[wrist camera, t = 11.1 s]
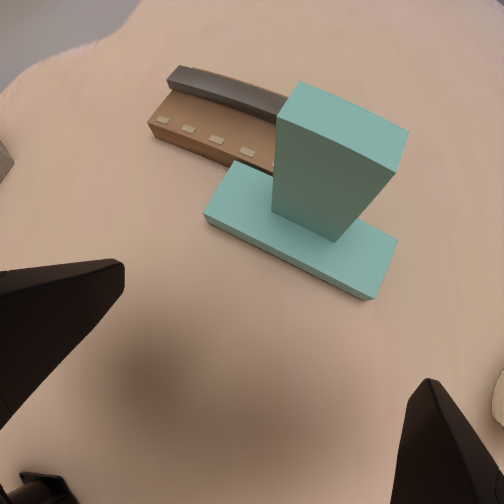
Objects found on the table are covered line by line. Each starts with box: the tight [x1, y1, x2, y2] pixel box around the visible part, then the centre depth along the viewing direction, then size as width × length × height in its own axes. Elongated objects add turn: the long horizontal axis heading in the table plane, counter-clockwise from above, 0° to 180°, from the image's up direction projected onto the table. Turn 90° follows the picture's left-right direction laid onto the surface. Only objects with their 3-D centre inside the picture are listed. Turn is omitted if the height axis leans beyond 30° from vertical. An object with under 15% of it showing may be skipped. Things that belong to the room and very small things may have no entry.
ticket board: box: [147, 65, 289, 177], centre depth 21 cm, size 6×13×4 cm, turn 62°
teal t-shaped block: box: [203, 81, 408, 301], centre depth 15 cm, size 4×12×12 cm, turn 62°
